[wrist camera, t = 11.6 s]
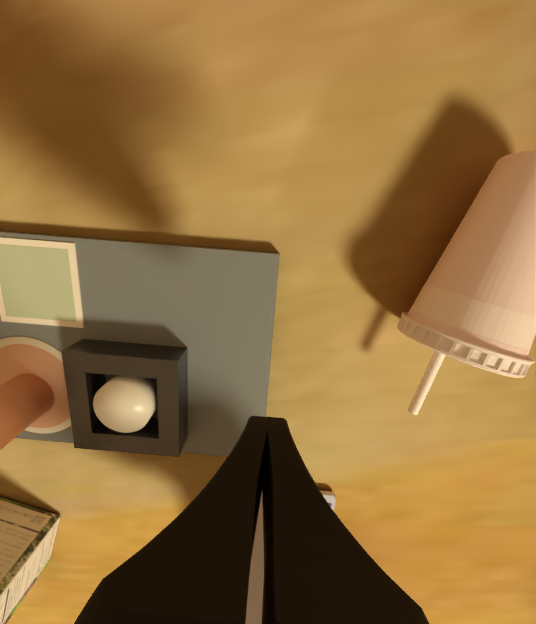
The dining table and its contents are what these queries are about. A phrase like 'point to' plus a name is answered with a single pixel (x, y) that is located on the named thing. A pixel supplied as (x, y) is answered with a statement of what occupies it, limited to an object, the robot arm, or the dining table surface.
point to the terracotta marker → (22, 404)
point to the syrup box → (22, 551)
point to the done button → (126, 402)
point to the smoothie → (484, 281)
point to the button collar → (137, 363)
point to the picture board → (142, 321)
